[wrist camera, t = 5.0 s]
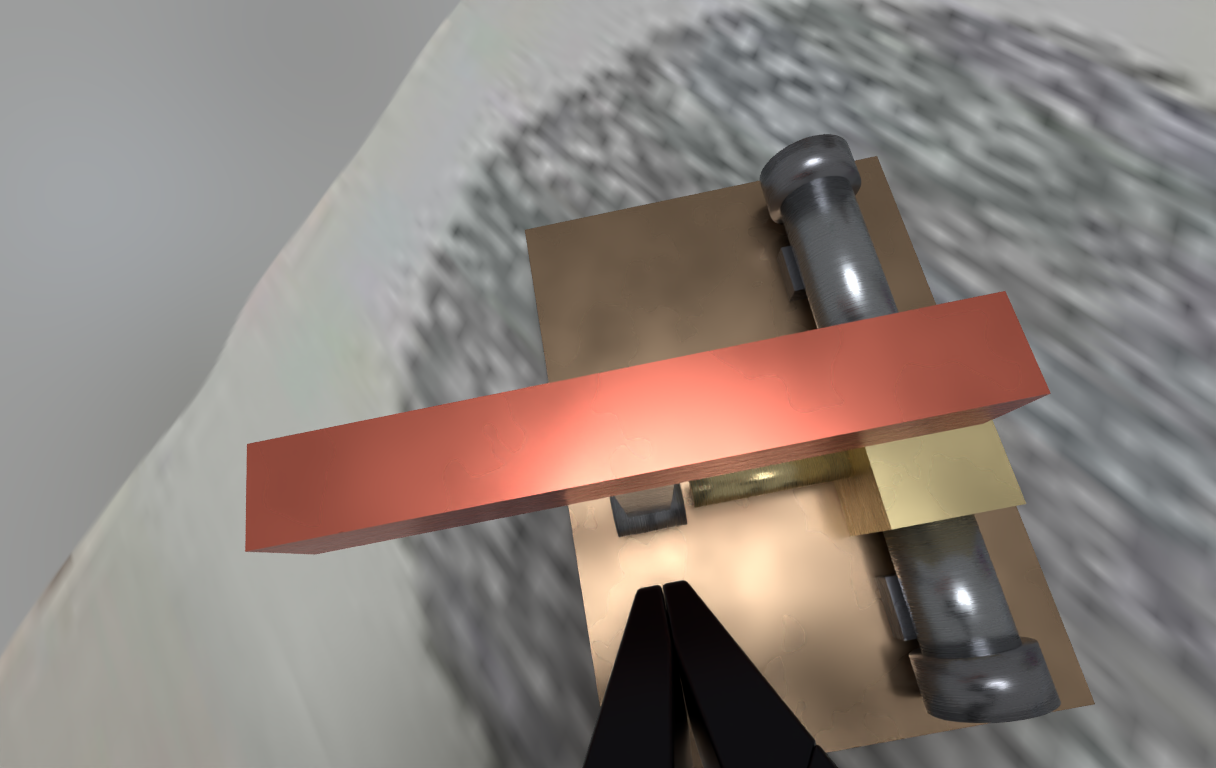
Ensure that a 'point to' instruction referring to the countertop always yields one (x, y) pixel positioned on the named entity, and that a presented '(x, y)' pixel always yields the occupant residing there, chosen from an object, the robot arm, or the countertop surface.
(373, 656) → the countertop surface
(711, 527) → the valve on board
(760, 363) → the valve lever
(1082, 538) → the countertop surface
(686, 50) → the countertop surface
